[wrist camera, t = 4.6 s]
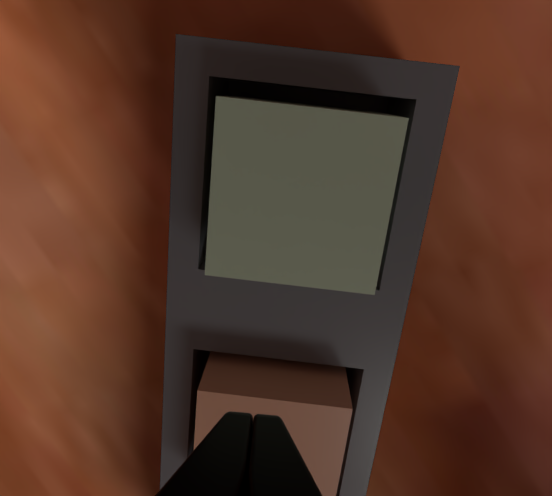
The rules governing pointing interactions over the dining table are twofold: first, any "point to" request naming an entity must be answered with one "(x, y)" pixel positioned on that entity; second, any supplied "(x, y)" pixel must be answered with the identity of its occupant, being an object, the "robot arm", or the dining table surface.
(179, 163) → the button board
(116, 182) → the dining table surface
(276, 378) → the terracotta button
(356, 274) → the sage green button
